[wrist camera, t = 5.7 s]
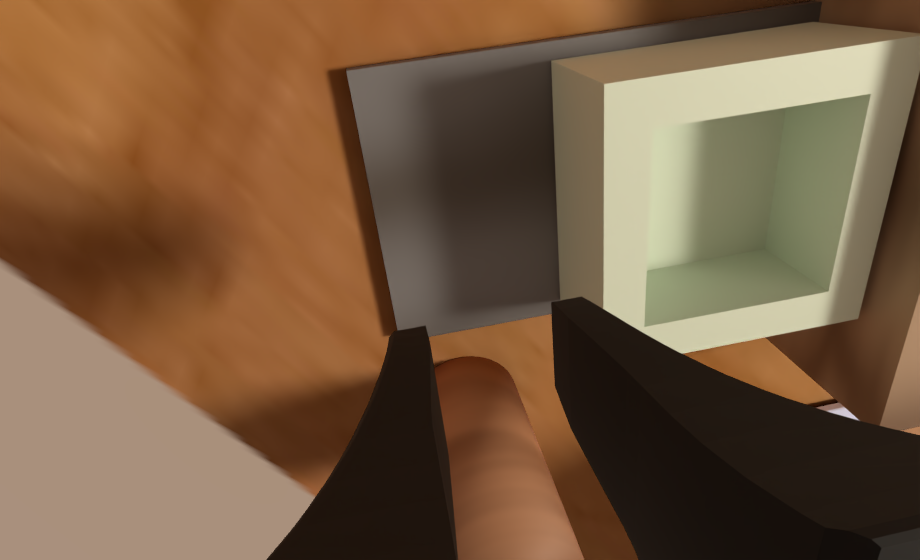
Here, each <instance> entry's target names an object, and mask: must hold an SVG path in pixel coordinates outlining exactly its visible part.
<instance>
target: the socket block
mask: <svg viewBox="0 0 920 560" xmlns="http://www.w3.org/2000/svg"><path fill="white" fill-rule="evenodd" d="M551 70H552V96H553V122H554V149H555V175H556V202H557V228H558V254H559V281H560V300H565V299H571V298H576V297H581V296H582V297H584V298H585V299H587V300H589V301H591V302H593V303H594V304H596V305H598V306H599V307H601V308H603V309H604V310H606V311H608V312H609V313H611V314H613V315H614V316H616V317H617V318H619V319H621V320H622V321H624V322H626V323H627V324H629V325H631V326H633V327H634V328H636V329H638V330H639V331H641V332H643V333H645V334H646V335H648V336H650V337H652V338H653V339H655V340H657V341H659V342H661V343H662V344H664V345H666V346H668V347H670V348H672V349H674V350H676V351H677V352H679V353H681V354H683V353H688V352H693V351H698V350H703V349H708V348H713V347H719V346H724V345H729V344H734V343H739V342H744V341H749V340H754V339H759V338H764V337H769V336H774V335H779V334H784V333H789V332H794V331H799V330H804V329H809V328H814V327H820V326H825V325H830V324H835V323H840V322H845V321H850V320H855V319H858V317H859V313H860V309H861V305H862V301H863V297H864V293H865V289H866V285H867V281H868V277H869V273H870V269H871V265H872V261H873V257H874V253H875V249H876V245H877V241H878V237H879V233H880V229H881V225H882V221H883V217H884V213H885V209H886V205H887V201H888V197H889V193H890V189H891V185H892V181H893V177H894V173H895V169H896V165H897V160H898V156H899V152H900V148H901V144H902V140H903V136H904V132H905V128H906V124H907V120H908V116H909V112H910V108H911V104H912V100H913V96H914V92H915V88H916V84H917V80H918V76H919V72H920V33H912V32H903V31H894V30H884V29H875V28H866V27H857V26H847V25H838V24H829V23H819V22H808V23H801V24H794V25H788V26H781V27H774V28H767V29H761V30H754V31H747V32H740V33H734V34H727V35H720V36H713V37H707V38H700V39H693V40H687V41H680V42H673V43H666V44H660V45H653V46H646V47H639V48H633V49H626V50H619V51H612V52H606V53H599V54H592V55H585V56H579V57H572V58H565V59H558V60H552V61H551Z"/></svg>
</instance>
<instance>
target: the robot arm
mask: <svg viewBox="0 0 920 560" xmlns="http://www.w3.org/2000/svg"><path fill="white" fill-rule="evenodd" d="M551 311H552V332H553V354H554V375H555V387H556V390H557V393H558V395H559V398H560V401H561V404H562V406H563V409H564V412H565V414H566V417H567V419H568V422H569V424H570V427H571V429H572V431H573V433H574V435H575V437H576V439H577V441H578V443H579V445H580V447H581V448H582V450H583V452H584V454H585V456H586V458H587V460H588V462H589V463H590V465H591V467H592V469H593V471H594V473H595V475H596V476H597V478H598V480H599V482H600V484H601V486H602V488H603V489H604V491H605V493H606V495H607V497H608V499H609V500H610V502H611V504H612V506H613V508H614V510H615V512H616V513H617V515H618V517H619V519H620V521H621V523H622V525H623V527H624V529H625V531H626V533H627V535H628V537H629V539H630V541H631V543H632V545H633V547H634V549H635V552H636V554H637V556H638V559H639V560H920V435H916V434H911V433H907V432H903V431H899V430H895V429H891V428H887V427H883V426H879V425H875V424H871V423H867V422H863V421H860V420H858V419H857V418H856V417H855V416H854V415H853V414H852V413H850V412H849V411H848V410H847V409H846V408H845V407H844V406H843V405H841V404H840V403H835V404H830V405H825V406H821V407H816V408H815V407H812V406H809V405H806V404H803V403H800V402H796V401H793V400H790V399H787V398H784V397H782V396H779V395H776V394H773V393H770V392H768V391H765V390H762V389H760V388H757V387H755V386H753V385H750V384H748V383H745V382H743V381H740V380H738V379H735V378H733V377H730V376H728V375H726V374H723V373H721V372H719V371H717V370H714V369H712V368H710V367H708V366H706V365H704V364H702V363H700V362H698V361H696V360H694V359H692V358H689V357H687V356H685V355H683V354H681V353H679V352H677V351H676V350H674V349H672V348H670V347H668V346H666V345H664V344H662V343H661V342H659V341H657V340H655V339H653V338H652V337H650V336H648V335H646V334H645V333H643V332H641V331H639V330H638V329H636V328H634V327H633V326H631V325H629V324H627V323H626V322H624V321H622V320H621V319H619V318H617V317H616V316H614V315H613V314H611V313H609V312H608V311H606V310H604V309H603V308H601V307H599V306H598V305H596V304H594V303H593V302H591V301H589V300H587V299H585V298H584V297H582V296H581V297H576V298H571V299H565V300H560V301H554V302H551ZM267 560H458V552H457V541H456V530H455V519H454V508H453V496H452V485H451V474H450V463H449V453H448V447H447V441H446V436H445V430H444V424H443V418H442V412H441V406H440V400H439V394H438V388H437V382H436V376H435V370H434V364H433V358H432V352H431V346H430V341H429V337H428V333H427V329H426V325H425V326H420V327H415V328H409V329H404V330H398V331H394V332H393V333H392V335H391V336H390V337H389V343H388V348H387V352H386V356H385V360H384V363H383V366H382V369H381V372H380V375H379V378H378V380H377V383H376V386H375V388H374V391H373V393H372V396H371V398H370V401H369V403H368V406H367V408H366V410H365V412H364V414H363V416H362V418H361V420H360V422H359V424H358V427H357V429H356V431H355V433H354V435H353V437H352V439H351V441H350V442H349V444H348V446H347V448H346V450H345V452H344V453H343V455H342V457H341V458H340V460H339V462H338V463H337V465H336V467H335V468H334V470H333V472H332V473H331V475H330V477H329V478H328V480H327V481H326V483H325V484H324V486H323V487H322V488H321V490H320V491H319V493H318V494H317V496H316V497H315V499H314V500H313V501H312V503H311V504H310V506H309V507H308V509H307V510H306V511H305V513H304V514H303V515H302V517H301V518H300V520H299V521H298V522H297V523H296V525H295V526H294V527H293V529H292V530H291V531H290V532H289V533H288V535H287V536H286V537H285V538H284V539H283V541H282V542H281V543H280V544H279V546H278V547H277V548H276V549H275V550H274V552H273V553H272V554H271V555H270V556H269V557H268V558H267Z"/></svg>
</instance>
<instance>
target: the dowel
mask: <svg viewBox="0 0 920 560" xmlns="http://www.w3.org/2000/svg"><path fill="white" fill-rule="evenodd" d="M434 370H435V376H436V382H437V388H438V394H439V400H440V406H441V412H442V418H443V424H444V430H445V436H446V441H447V447H448V453H449V463H450V474H451V485H452V496H453V508H454V519H455V530H456V541H457V552H458V560H584V557H583V555H582V552H581V550H580V547H579V545H578V542H577V540H576V537H575V535H574V532H573V530H572V527H571V524H570V522H569V519H568V517H567V514H566V512H565V509H564V507H563V504H562V502H561V499H560V497H559V494H558V492H557V489H556V487H555V484H554V482H553V479H552V477H551V474H550V471H549V469H548V466H547V464H546V461H545V459H544V456H543V454H542V451H541V449H540V446H539V444H538V441H537V439H536V436H535V434H534V431H533V429H532V426H531V424H530V421H529V419H528V416H527V413H526V411H525V408H524V406H523V403H522V401H521V398H520V396H519V393H518V391H517V388H516V386H515V383H514V381H513V379H512V377H511V375H510V374H509V372H508V371H507V370H506V369H505V368H504V367H503V366H501V365H500V364H498V363H496V362H494V361H492V360H489V359H486V358H482V357H461V358H456V359H452V360H449V361H447V362H444V363H442V364H440V365H438V366H437V367H435V368H434Z"/></svg>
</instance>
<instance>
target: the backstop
mask: <svg viewBox="0 0 920 560" xmlns="http://www.w3.org/2000/svg"><path fill="white" fill-rule="evenodd" d="M808 22H819V23H829V24H838V25H847V26H857V27H866V28H875V29H884V30H894V31H903V32H912V33H920V0H811V1H808V2H801V3H794V4H787V5H780V6H773V7H766V8H759V9H752V10H745V11H739V12H732V13H725V14H718V15H711V16H704V17H697V18H690V19H683V20H676V21H670V22H663V23H656V24H649V25H642V26H635V27H628V28H621V29H614V30H607V31H600V32H594V33H587V34H580V35H573V36H566V37H559V38H552V39H545V40H538V41H531V42H525V43H518V44H511V45H504V46H497V47H490V48H483V49H476V50H469V51H462V52H455V53H449V54H442V55H435V56H428V57H421V58H414V59H407V60H400V61H393V62H386V63H380V64H373V65H366V66H359V67H352V68H346V72H347V77H348V82H349V87H350V92H351V98H352V103H353V108H354V113H355V118H356V123H357V128H358V133H359V138H360V143H361V148H362V153H363V158H364V163H365V168H366V173H367V178H368V183H369V189H370V194H371V199H372V204H373V209H374V214H375V219H376V224H377V229H378V234H379V239H380V244H381V249H382V254H383V259H384V264H385V269H386V274H387V280H388V285H389V290H390V295H391V300H392V305H393V310H394V315H395V320H396V325H397V330H404V329H409V328H415V327H420V326H425V325H426V329H427V333H428V337H431V336H436V335H441V334H447V333H452V332H457V331H463V330H468V329H473V328H479V327H484V326H489V325H495V324H500V323H505V322H511V321H516V320H521V319H526V318H532V317H537V316H542V315H548V314H552V311H551V302H554V301H560V281H559V254H558V228H557V202H556V175H555V149H554V122H553V96H552V70H551V61H552V60H558V59H565V58H572V57H579V56H585V55H592V54H599V53H606V52H612V51H619V50H626V49H633V48H639V47H646V46H653V45H660V44H666V43H673V42H680V41H687V40H693V39H700V38H707V37H713V36H720V35H727V34H734V33H740V32H747V31H754V30H761V29H767V28H774V27H781V26H788V25H794V24H801V23H808ZM765 338H767V339H768V340H769V341H770V342H771V343H772V344H773V345H775V346H776V347H777V348H778V349H779V350H780V351H781V352H782V353H784V354H785V355H786V356H787V357H788V358H789V359H790V360H792V361H793V362H794V363H795V364H796V365H797V366H798V367H799V368H801V369H802V370H803V371H804V372H805V373H806V374H807V375H809V376H810V377H811V378H812V379H813V380H814V381H815V382H816V383H818V384H819V385H820V386H821V387H822V388H823V389H824V390H826V391H827V392H828V393H829V394H830V395H831V396H832V397H833V398H835V399H836V400H837V401H838V402H839V403H840V404H841V405H843V406H844V407H845V408H846V409H847V410H848V411H849V412H850V413H852V414H853V415H854V416H855V417H856V418H857V419H858V420H860V421H863V422H867V423H871V424H875V425H879V426H883V427H887V428H891V429H895V430H899V431H901V430H905V429H910V428H915V427H919V426H920V72H919V76H918V80H917V84H916V88H915V92H914V96H913V100H912V104H911V108H910V112H909V116H908V120H907V124H906V128H905V132H904V136H903V140H902V144H901V148H900V152H899V156H898V160H897V165H896V169H895V173H894V177H893V181H892V185H891V189H890V193H889V197H888V201H887V205H886V209H885V213H884V217H883V221H882V225H881V229H880V233H879V237H878V241H877V245H876V249H875V253H874V257H873V261H872V265H871V269H870V273H869V277H868V281H867V285H866V289H865V293H864V297H863V301H862V305H861V309H860V313H859V317H858V319H855V320H850V321H845V322H840V323H835V324H830V325H825V326H820V327H814V328H809V329H804V330H799V331H794V332H789V333H784V334H779V335H774V336H769V337H765Z"/></svg>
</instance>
